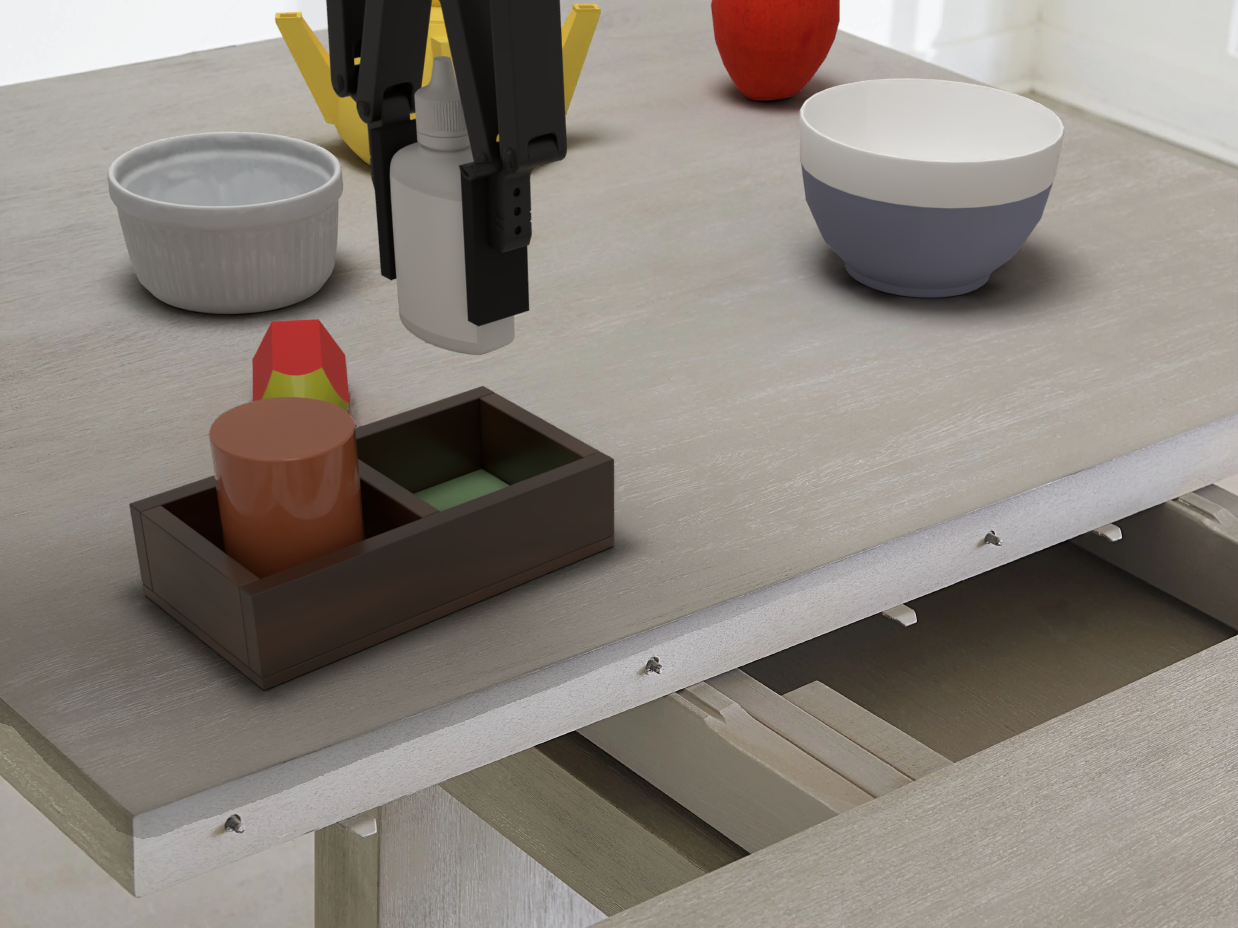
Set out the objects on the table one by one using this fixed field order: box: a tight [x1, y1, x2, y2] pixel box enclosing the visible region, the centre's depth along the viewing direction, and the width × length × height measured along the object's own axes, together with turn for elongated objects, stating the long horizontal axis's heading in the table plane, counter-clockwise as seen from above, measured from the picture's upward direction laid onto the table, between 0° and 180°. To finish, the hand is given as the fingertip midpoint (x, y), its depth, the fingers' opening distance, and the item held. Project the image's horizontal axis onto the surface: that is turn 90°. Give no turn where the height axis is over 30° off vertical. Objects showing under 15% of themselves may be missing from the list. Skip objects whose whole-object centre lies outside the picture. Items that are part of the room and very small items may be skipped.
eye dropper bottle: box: [390, 56, 516, 356], centre depth 81 cm, size 4×6×12 cm
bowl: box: [799, 77, 1065, 299], centre depth 117 cm, size 16×16×10 cm
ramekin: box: [107, 131, 344, 315], centre depth 112 cm, size 13×13×7 cm
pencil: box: [252, 318, 351, 413], centre depth 96 cm, size 5×12×4 cm, turn 12°
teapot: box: [274, 0, 602, 166], centre depth 132 cm, size 17×17×12 cm
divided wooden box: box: [128, 385, 615, 691], centre depth 86 cm, size 10×19×5 cm, turn 133°
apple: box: [710, 0, 841, 102], centre depth 144 cm, size 10×10×12 cm
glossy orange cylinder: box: [208, 397, 365, 579], centre depth 82 cm, size 6×6×8 cm
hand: (454, 291), depth 83 cm, fingers closed on eye dropper bottle, 6 cm apart
